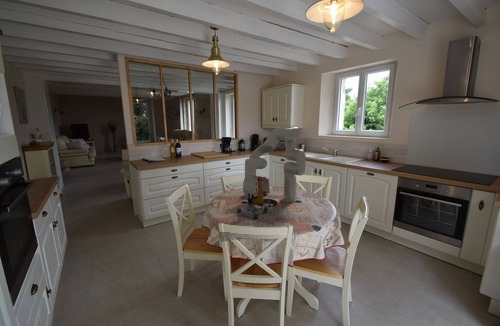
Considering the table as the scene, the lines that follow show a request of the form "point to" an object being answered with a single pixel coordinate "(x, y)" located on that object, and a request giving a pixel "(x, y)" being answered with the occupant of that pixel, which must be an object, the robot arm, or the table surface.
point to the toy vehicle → (265, 185)
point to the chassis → (249, 214)
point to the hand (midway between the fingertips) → (250, 203)
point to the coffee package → (259, 192)
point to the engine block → (251, 208)
